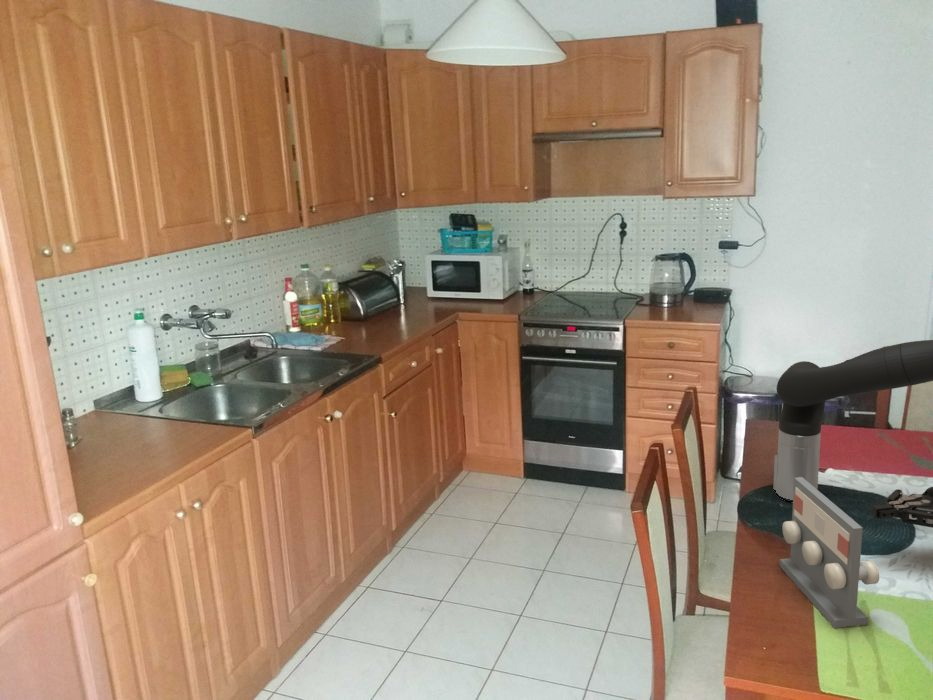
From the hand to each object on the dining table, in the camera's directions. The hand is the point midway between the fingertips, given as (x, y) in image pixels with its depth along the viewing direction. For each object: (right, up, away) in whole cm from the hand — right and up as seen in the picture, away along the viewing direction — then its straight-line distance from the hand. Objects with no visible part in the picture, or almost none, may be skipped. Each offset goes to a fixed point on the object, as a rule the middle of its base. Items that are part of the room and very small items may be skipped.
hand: (873, 512), depth 151 cm
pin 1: (-13, -6, +1) cm, 14 cm away
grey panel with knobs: (-13, -15, -5) cm, 20 cm away
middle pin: (-12, -8, -7) cm, 16 cm away
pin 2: (-12, -10, -15) cm, 21 cm away
